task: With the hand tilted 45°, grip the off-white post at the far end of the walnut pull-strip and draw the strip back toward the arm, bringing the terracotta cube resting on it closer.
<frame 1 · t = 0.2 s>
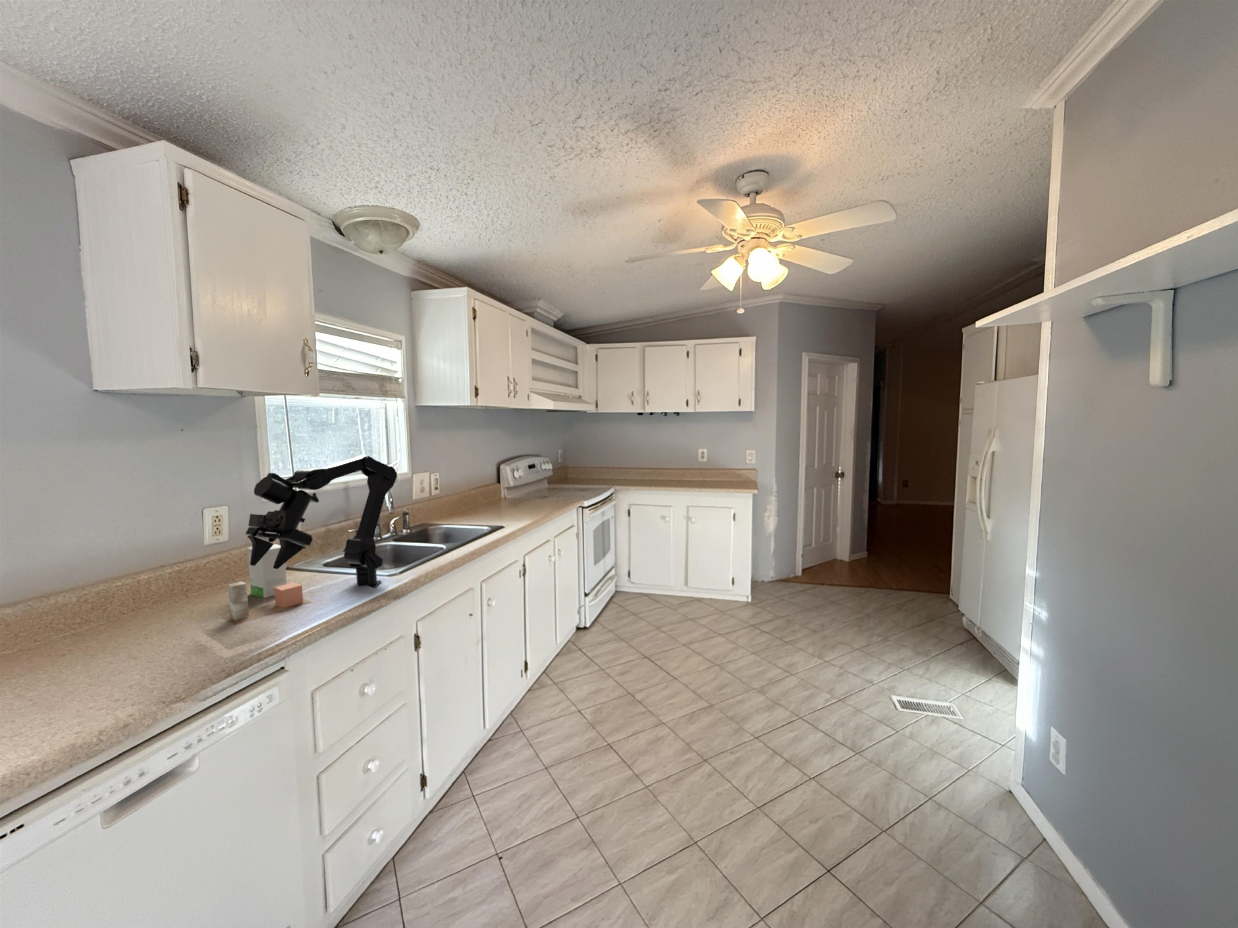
hand: (263, 566, 126), 15 cm above the worktop, fingers open, 9 cm apart
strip: (267, 595, 133), point 5 cm above the worktop, slide at 0.0 cm, touching cube
skincare box: (270, 597, 147), on the worktop
cube: (289, 603, 137), point 1 cm above the worktop, touching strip
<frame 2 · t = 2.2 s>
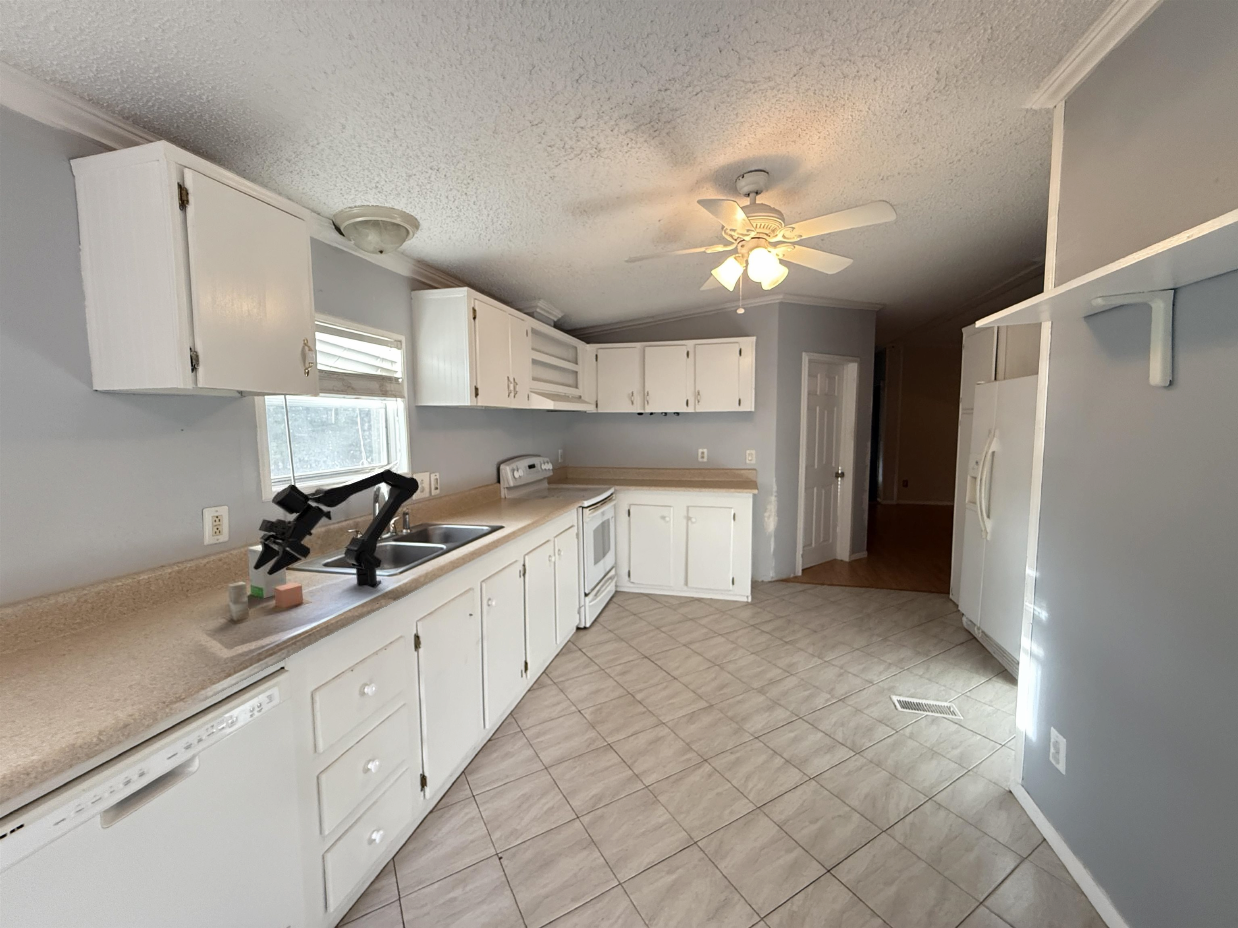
hand: (261, 571, 131), 12 cm above the worktop, fingers open, 9 cm apart
nothing on the worktop moved.
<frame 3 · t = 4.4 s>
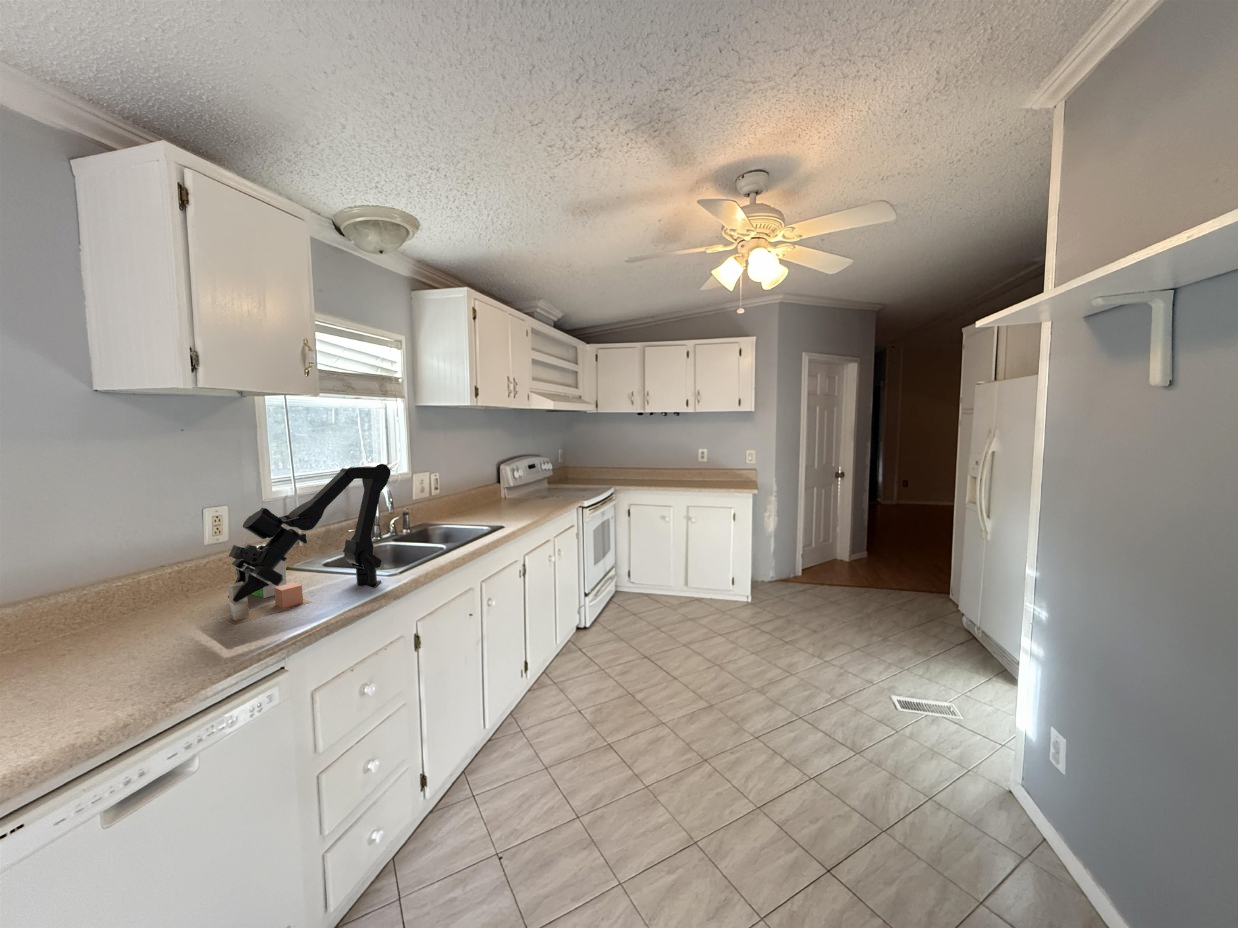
hand: (231, 599, 126), 7 cm above the worktop, fingers closed on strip, 3 cm apart
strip: (267, 595, 133), point 5 cm above the worktop, slide at 0.0 cm, touching cube, gripper
everything else where it was.
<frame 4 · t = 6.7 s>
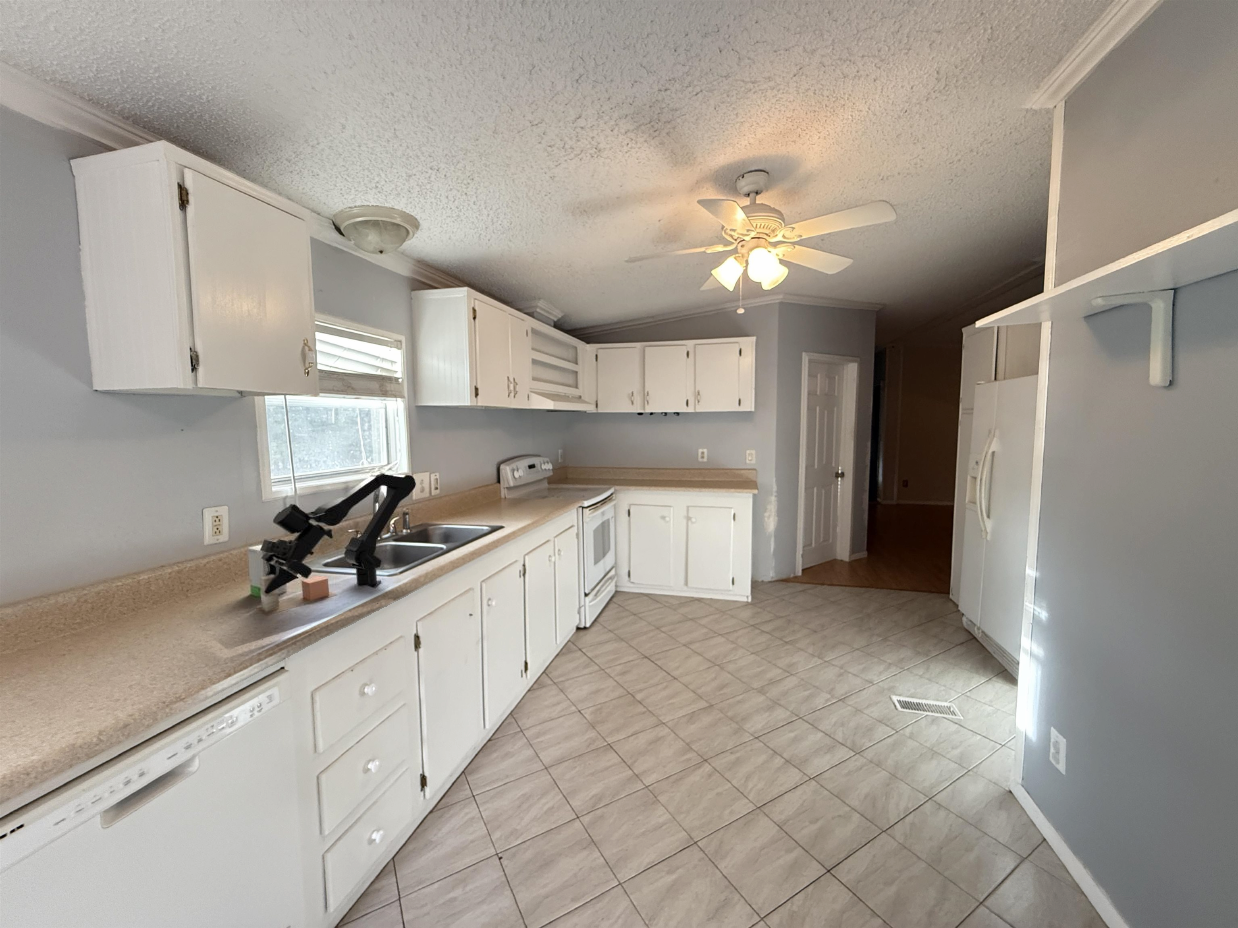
hand: (263, 591, 132), 7 cm above the worktop, fingers closed on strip, 3 cm apart
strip: (296, 587, 138), point 5 cm above the worktop, slide at 7.0 cm, touching cube, gripper
cube: (316, 595, 143), point 1 cm above the worktop, touching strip
everything else where it was.
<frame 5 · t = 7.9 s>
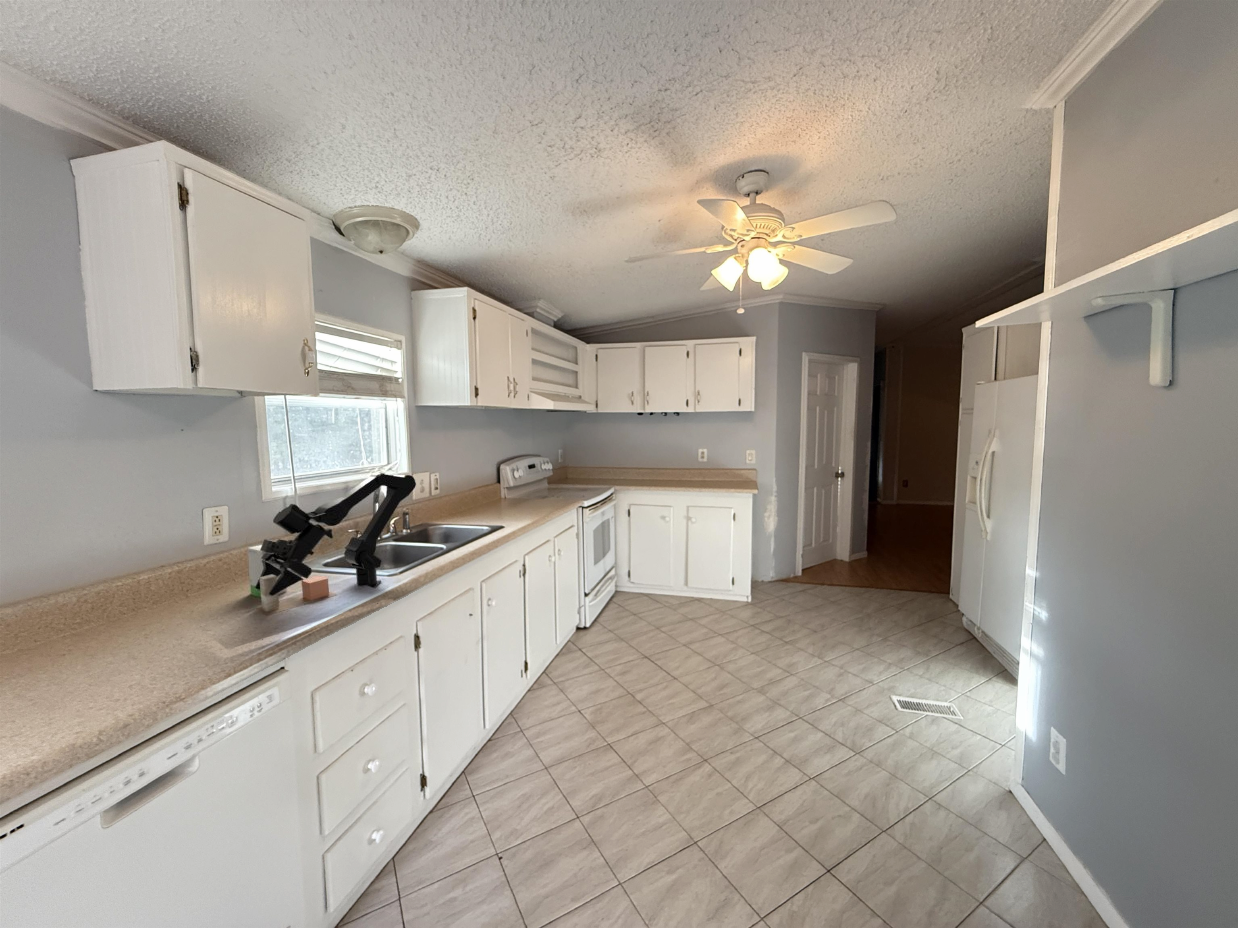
hand: (263, 591, 132), 7 cm above the worktop, fingers open, 9 cm apart
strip: (296, 587, 138), point 5 cm above the worktop, slide at 7.0 cm, touching cube
everything else where it was.
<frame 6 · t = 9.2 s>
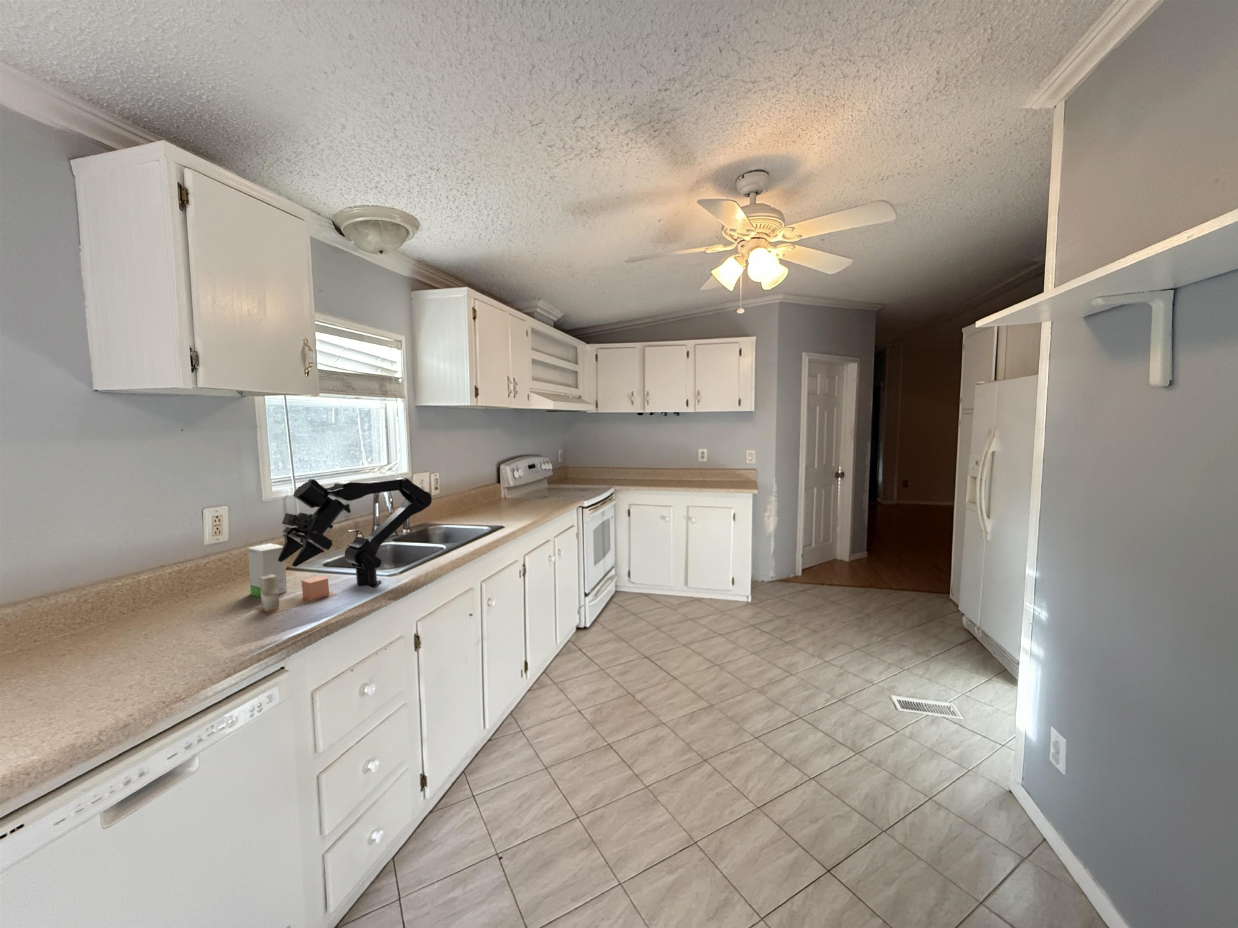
hand: (286, 563, 136), 13 cm above the worktop, fingers open, 9 cm apart
nothing on the worktop moved.
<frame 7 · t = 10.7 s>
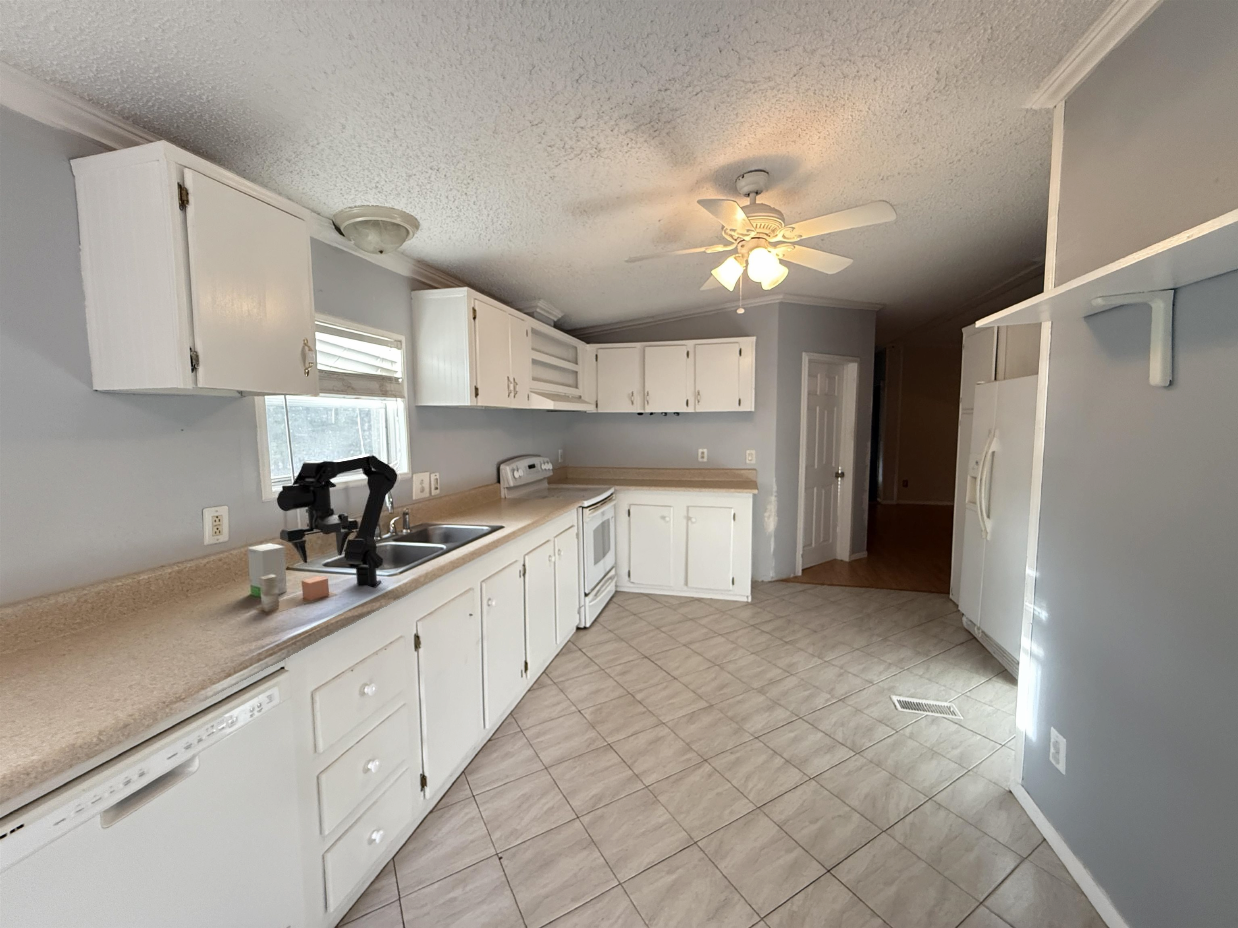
hand: (323, 558, 140), 13 cm above the worktop, fingers open, 9 cm apart
nothing on the worktop moved.
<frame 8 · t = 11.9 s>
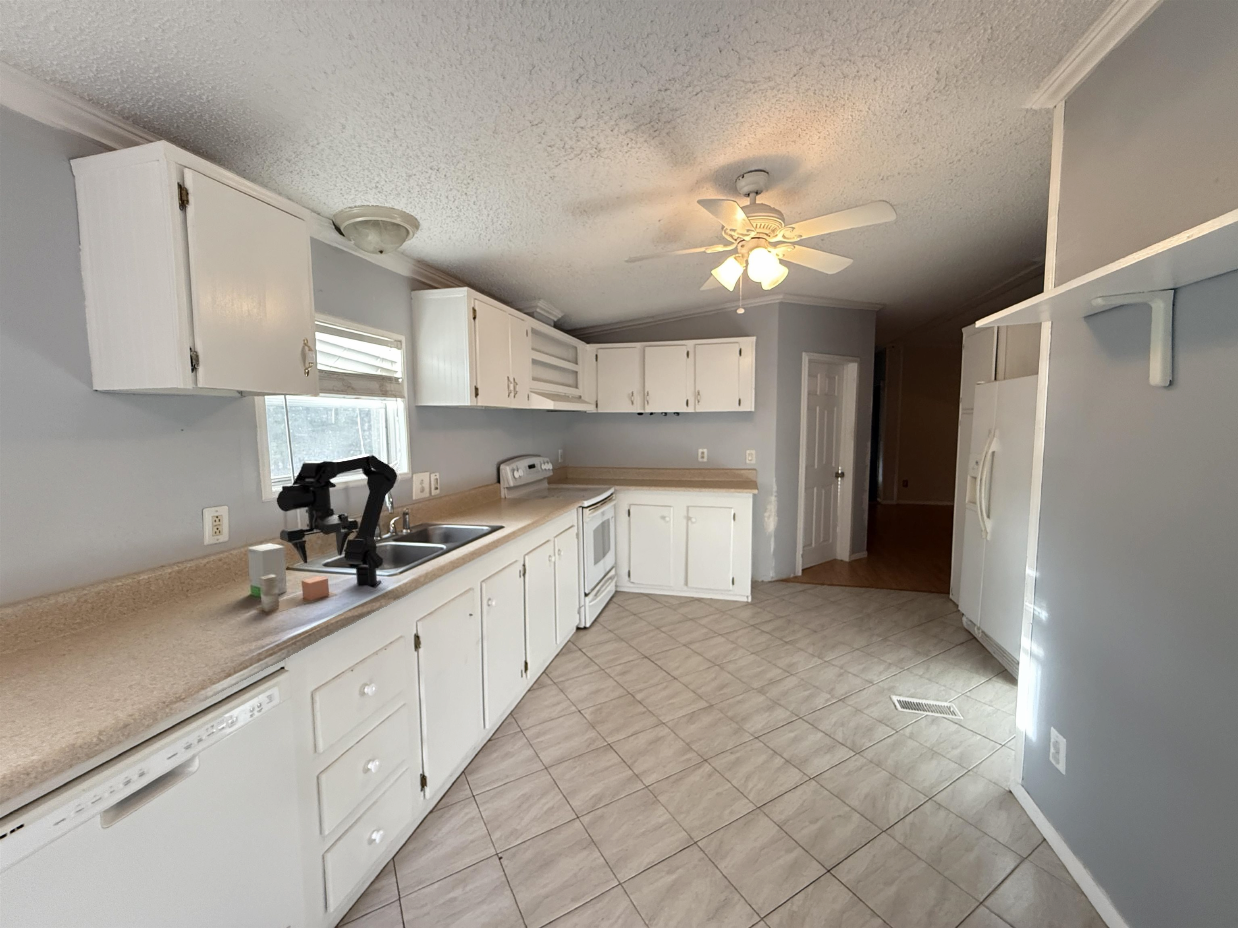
hand: (323, 559, 140), 13 cm above the worktop, fingers open, 9 cm apart
nothing on the worktop moved.
at the end: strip slide at 7.0 cm; cube inside the target area (0.2 cm from its centre), point 1.4 cm above the worktop; cube touching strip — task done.
